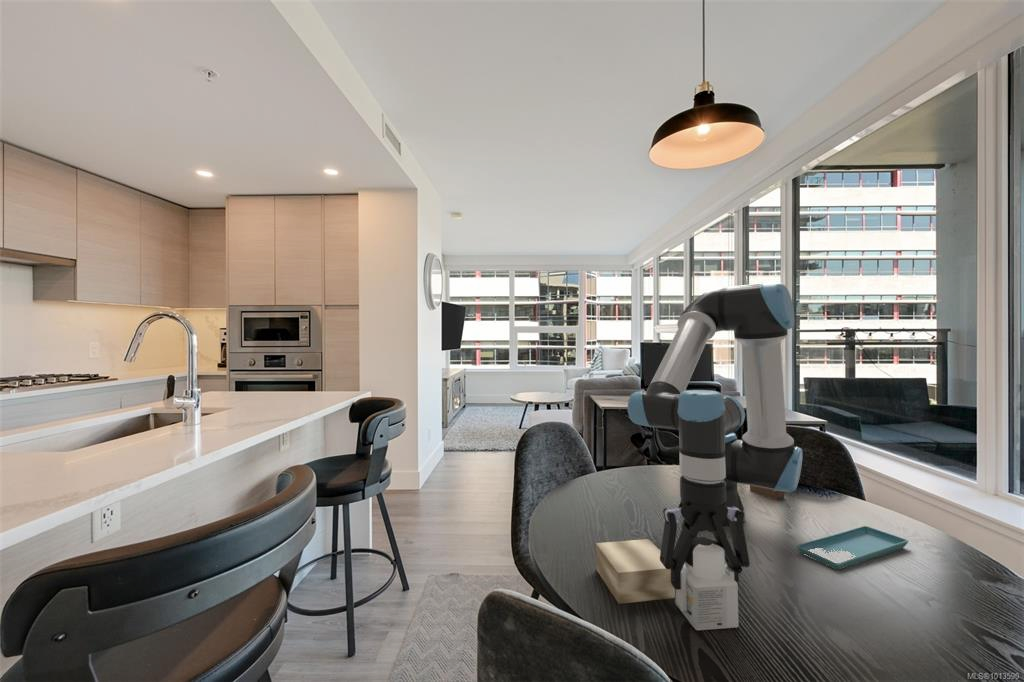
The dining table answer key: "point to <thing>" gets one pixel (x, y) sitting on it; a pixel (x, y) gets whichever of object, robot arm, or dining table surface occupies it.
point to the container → (709, 587)
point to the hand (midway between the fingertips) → (705, 605)
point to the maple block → (633, 571)
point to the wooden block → (767, 492)
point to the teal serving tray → (855, 545)
